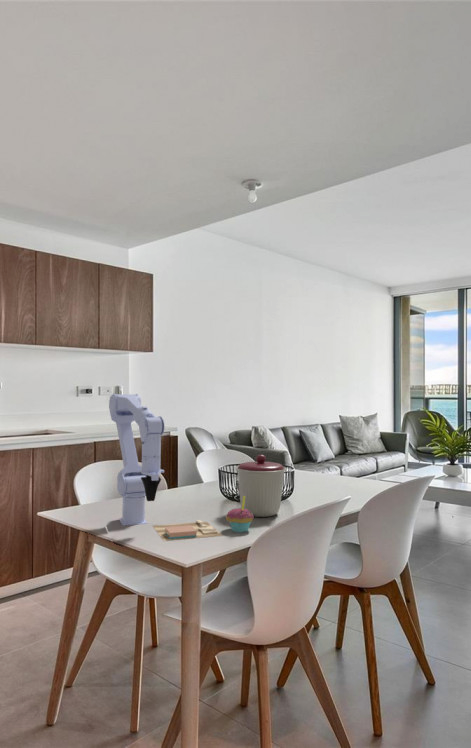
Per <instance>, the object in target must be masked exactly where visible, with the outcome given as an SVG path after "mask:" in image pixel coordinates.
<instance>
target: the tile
mask: <svg viewBox="0 0 471 748" xmlns="http://www.w3.org/2000/svg"><path fill="white" fill-rule="evenodd" d="M165 534H166V535H167V536H168V538H169V539H179V538H191V537H196V534H197V531H196V530H195V529H194V528H193V527H192V526H191V525H186V526H173V527H165Z"/></svg>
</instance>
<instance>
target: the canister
mask: <svg viewBox="0 0 471 748" xmlns="http://www.w3.org/2000/svg"><path fill="white" fill-rule="evenodd" d="M266 460H267V458H266V456H265V455H264V454H258V455H256V457H255V461H246V462H242V463H240V464H239V465H237V466H235V470H236V471H237V483H238V491H239V499H240V501H239V502H240V507H241V509H242V502H243V496H244V494H245V503H244V509H247V510H249V511H250V512H251V513H252V514H253V516H254V517H256V518H268V517H273V516H275V515H277V514H278V513H279V511H280V507H281V503H282V495H283V485H284V477H285V472H286V471H287V467H286V466H283V464H281V463H278V462H272V461H266Z"/></svg>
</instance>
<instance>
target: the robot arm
mask: <svg viewBox="0 0 471 748" xmlns="http://www.w3.org/2000/svg"><path fill="white" fill-rule="evenodd" d="M108 401H109V402H108V409H109V415H110V419H111V421H113V422H114V423H115V425H116V428H117V429H116V430H117V434H118V440H119V447H120V452H121V458H122V463H123V468H122V469H121V470H119V471H118V473H117V477H116V478H117V484H116V485H117V487H116V488H117V491H118V494H119V495H120V496H121V497H122V509H121V511H122V512H121V513H122V515H121V516H122V517H120V518H118V519H119V521H120V523H121V525H122V526H133V525H146V524H148V522H147V521H146V519H145V517H146V515H145V514H146V511H145V510H146V509H145V507H146V506H145V505H146V501H147V502H155V499H156V495H157V492H158V491H157V490H158V488H159V486H160V482H161V481H162V478H161V477H160V475H161V474H164V473H165V470H164V469H161V454H162V453H161V452H162V451H161V450H162V449H161V447H162V443H161V442H162V436H163V434H164V431H165V422H164V421H165V420H164V419H163V417H162V416H155V415H154V414H153V413H152V411H150V409H149V408H148V407H147V406H142V399H141V396H140V395H139V394H138V393H135V394H133V393H132V394H130V393H129V394H128V393H127V394H122V393H121V394H120V393H119V394H118V393H112V394H111V395H110V396H109V400H108ZM133 422H135V423H136V424H137V425H138V430H139V434H140V438H139V439H140V441H141V465H140V464H139V458H138V454H137V448H136V443H135V438H134V431H133V428H132V423H133Z"/></svg>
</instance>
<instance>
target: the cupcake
mask: <svg viewBox="0 0 471 748" xmlns="http://www.w3.org/2000/svg"><path fill="white" fill-rule="evenodd" d="M244 503H245V494H244V496H243V502H242V508H233V509H231V510H229V511H228V512H227V514H226V516H225V519H226V521H228V522H229V524H230V528H231V530H232V532H235V533H236V532H237V533H245V532H246V533H247V532H248V531H249V528H250V525H251V523H252V522H253V520H254V517H255V516H253V514H252V513H251V512H250V511H249V510H247V509H244Z"/></svg>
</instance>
